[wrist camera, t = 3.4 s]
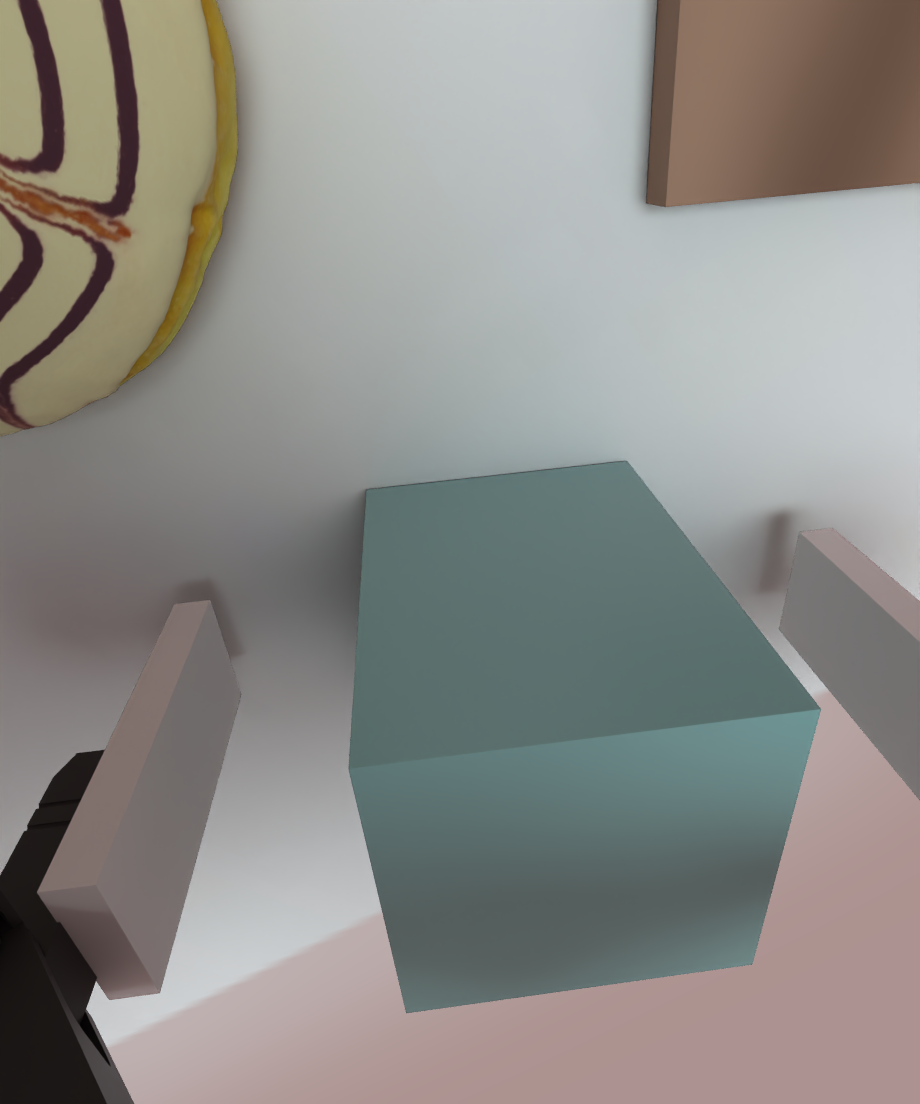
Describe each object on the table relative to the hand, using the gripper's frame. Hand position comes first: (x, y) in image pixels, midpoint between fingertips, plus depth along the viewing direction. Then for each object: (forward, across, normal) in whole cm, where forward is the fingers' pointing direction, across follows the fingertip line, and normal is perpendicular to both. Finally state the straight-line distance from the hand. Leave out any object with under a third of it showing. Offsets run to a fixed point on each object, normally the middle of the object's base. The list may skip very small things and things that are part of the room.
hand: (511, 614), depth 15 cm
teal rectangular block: (+1, 0, 0) cm, 1 cm away
